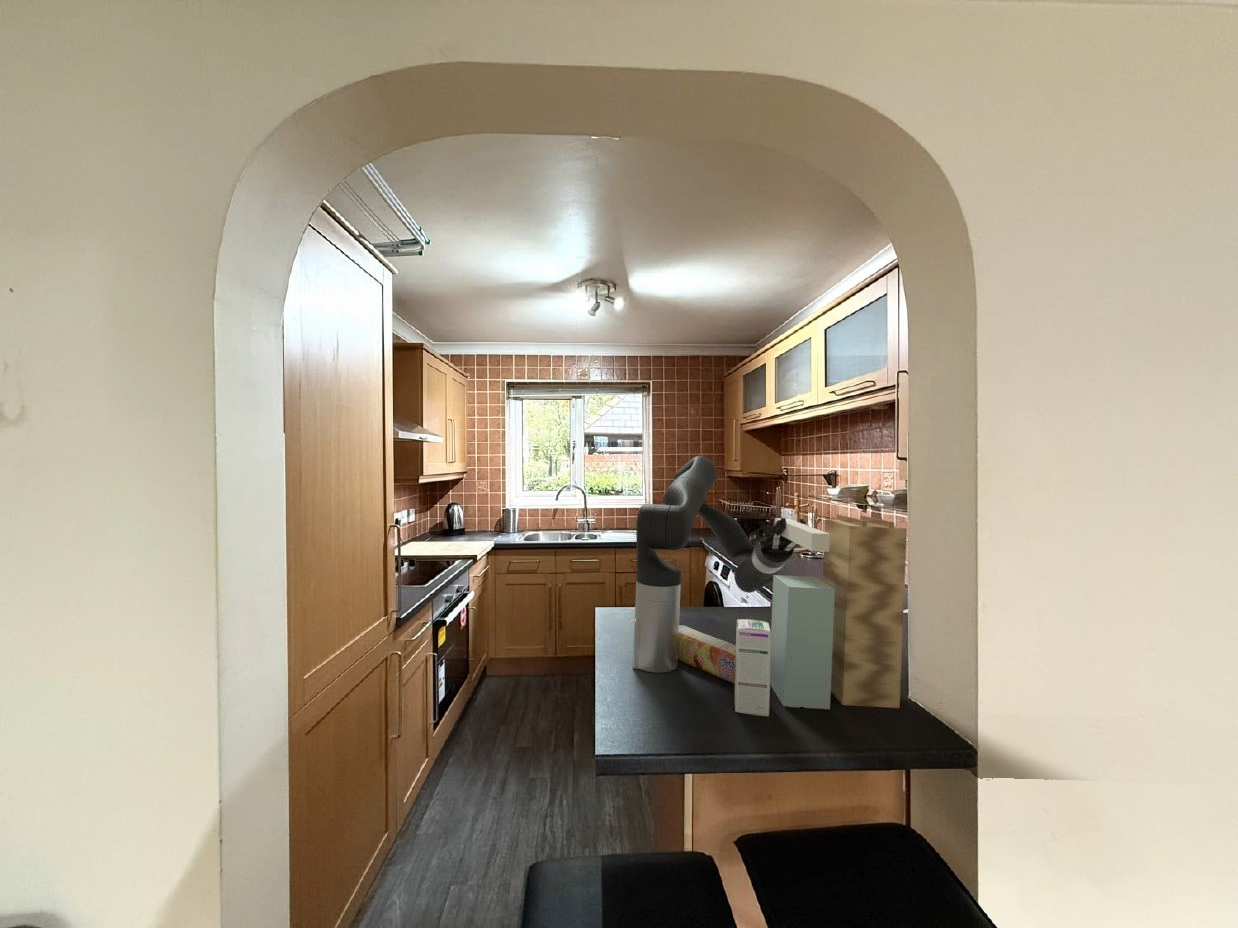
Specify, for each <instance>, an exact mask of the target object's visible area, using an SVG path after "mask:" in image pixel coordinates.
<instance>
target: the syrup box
mask: <svg viewBox="0 0 1238 928" xmlns="http://www.w3.org/2000/svg"><path fill="white" fill-rule="evenodd" d="M736 619H737V618H736ZM735 632H736V634H735V635H736V638H735V645H736V662H735V684H734V711H735V712H736V713H740V714H746V715H752V716H759V717H760V716H761V717H769V715H770V698H771V697H770V696H771V693H770V691H771V689H770V688H771V685H770V648H771V628H770V622H768V621H764V620H758V619H748V618H747V619H739V618H738V619H737V620H736V630H735Z"/></svg>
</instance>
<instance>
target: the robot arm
mask: <svg viewBox="0 0 1238 928" xmlns="http://www.w3.org/2000/svg"><path fill="white" fill-rule="evenodd" d="M673 476H674V477H673V478H674V480H673V481H672V482H671V483H670V485H669V486H668V487H667V489H666V491H665V492H664V496H663V504H657V503H655V504H654V503H645V504H643V505H641V506H640V508H639V510H638V513H637V516H636V525H635V527H636V530H635V533H636V535H635V536H636V562H635V563H636V565H635V567H636V582H635V583H636V584H635V609H634V625H633V648H632V669H638V670H641V671H643V672H644V671H645V672H648V673H649V672H650V673H669V672H673V671H675V670H676V669H677V667H678V636H679V626H680V610H681V609H680V607H681V606H680V605H681V582H682V572H681V570H680V568H678V567H677V566H676V565H673V564H671V563H669V562H667V561H665V560H664V559H662V558H661V556H659V555H658V554H657V552H656V550H664V551H679V550H682V549H683V548H685V547H686V545H687V544H688V542H689V538H690V537H691V532H692V529H693V526H694V522H695V519H696V517H697V516H698V515H699V516H700V518H701V519H702V520H703V521H704V522H705V523H706V524H707V526H708V527H709V528H710V529H711V531H712V533H713V534H714V536H715V537H716V539H717V540H718V543H719V544H720V546H721V547H722V549H723V550H724V553H725V554H726V555H727V556H728V558H730V559H732V560H737V559H745V560H744V561H743V562H741V563H740V564H739V565H738V566H737V567H736V568H735V571H734V575H733V576H734V582H735V584H736V586H737V588H738V589H739V590H740V591H742V592H744V593H747V594H748V593H750V594H751V593H755V592H756V591H758V590H760V589H763V588H764V587H766V586H768V585H770V584H773V575H778V571H780V570H781V569H782V568H783V567H784V566H785V565H786V563H787V562H788V561H790V559H791V558H792V556H793V554H794V552H795V550H796V549H798V548H800V545H799V544H797V543H795V542H793V541H791V540H789V539H787V538H785V537H783V536H781V534H782V533H783V531H784V530H785V529H786V519H787V518H785V517H781V520H778V521H777V522H776V524H775V523H774V524H773V525H772V526H770V525H768V524H766V525H763V526H761V527H758V528H757V529H755V530H754V531H752V532H751V531H750V533H749V537H748V536H747V534H746V533H745V531H744V529H743V528H742V526H741V525H740V523H739V522H738V521H737V520H736V519H735V518H734V517H733V516H731V515H730V514H727V513H725V512H723V511H721V510H719V509H717V508H715V507H713V506H711V505H709V504H708V503H707V502H706V501H705V499H706V497H707V495H708V492H709V490H710V489H711V487H712V486H713V485H714V484H715V483H716V482H717V480H718V472H717V468H716V466H715V464H714V463H713V462H712V461H711V460H710V459H709V458H707V457H705V456H701V455H698V456H694V457H693V458H691V459H690V460H689V461H688V462H686V463H685V464H684V465H682V467H681V468H679V469H678V470H677V471H676V472H675V473H674V475H673ZM797 522H799V523H802V524H805V525H807V524H806V521H805V520H804V518H798V520H797Z"/></svg>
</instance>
